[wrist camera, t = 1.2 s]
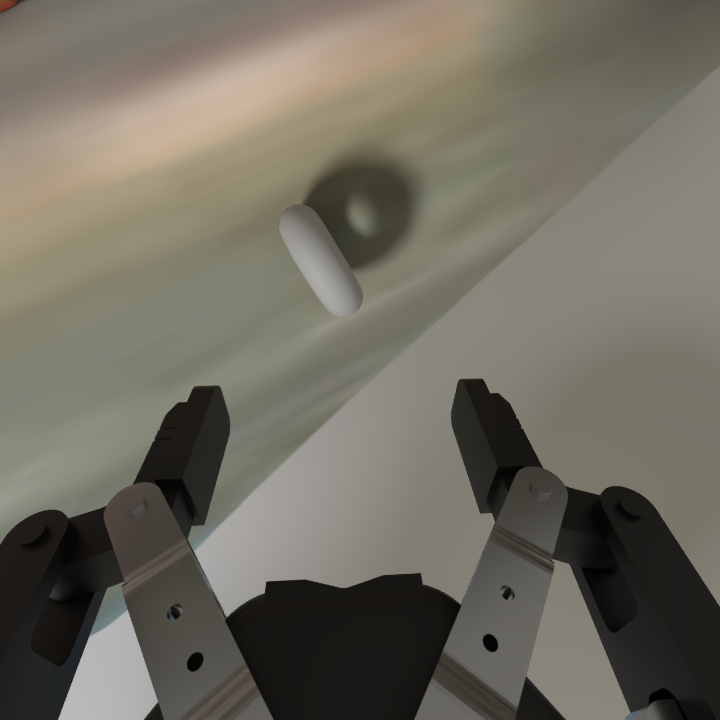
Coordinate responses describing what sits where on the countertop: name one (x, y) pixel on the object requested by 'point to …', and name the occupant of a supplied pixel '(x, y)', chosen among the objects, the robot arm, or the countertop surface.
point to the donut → (320, 260)
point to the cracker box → (7, 4)
